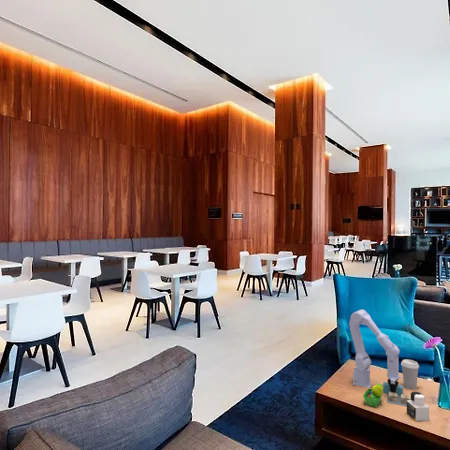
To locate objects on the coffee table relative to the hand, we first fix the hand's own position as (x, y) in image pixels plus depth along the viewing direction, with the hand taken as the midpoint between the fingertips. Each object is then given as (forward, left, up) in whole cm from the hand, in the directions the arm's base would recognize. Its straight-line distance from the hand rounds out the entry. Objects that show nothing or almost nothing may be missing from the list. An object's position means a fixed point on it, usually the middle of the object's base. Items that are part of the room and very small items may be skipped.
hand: (393, 391), depth 190 cm
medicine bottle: (+11, -21, -2) cm, 24 cm away
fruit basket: (-9, -16, -2) cm, 18 cm away
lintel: (0, 0, -1) cm, 1 cm away
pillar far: (+6, -8, -1) cm, 10 cm away
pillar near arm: (0, -8, -1) cm, 8 cm away
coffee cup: (+9, +13, -2) cm, 16 cm away
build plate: (+3, -8, -1) cm, 9 cm away
